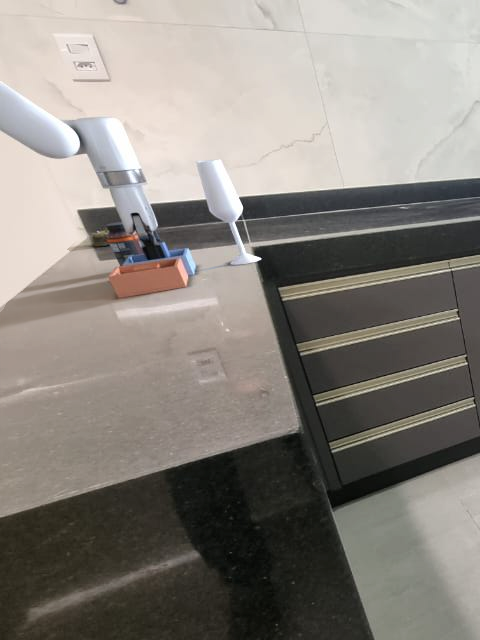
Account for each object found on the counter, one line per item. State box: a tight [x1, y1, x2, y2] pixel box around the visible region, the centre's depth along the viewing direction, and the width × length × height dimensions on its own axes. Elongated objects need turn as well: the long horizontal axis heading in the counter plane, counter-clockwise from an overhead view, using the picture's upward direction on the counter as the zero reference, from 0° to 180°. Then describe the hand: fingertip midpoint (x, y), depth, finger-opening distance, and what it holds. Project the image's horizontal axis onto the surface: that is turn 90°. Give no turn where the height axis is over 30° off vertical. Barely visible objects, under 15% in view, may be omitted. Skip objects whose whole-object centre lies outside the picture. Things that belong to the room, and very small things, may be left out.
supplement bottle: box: [105, 221, 143, 266], centre depth 128 cm, size 6×6×11 cm
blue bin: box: [123, 247, 196, 277], centre depth 124 cm, size 11×10×5 cm
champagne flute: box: [195, 159, 262, 266], centre depth 129 cm, size 7×7×24 cm
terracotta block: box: [133, 263, 161, 272], centre depth 114 cm, size 4×4×4 cm
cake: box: [91, 226, 110, 247], centre depth 161 cm, size 10×10×5 cm
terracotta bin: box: [107, 258, 189, 299], centre depth 115 cm, size 11×10×5 cm
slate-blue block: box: [141, 241, 171, 261], centre depth 122 cm, size 4×4×4 cm
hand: (159, 260), depth 123 cm, fingers closed on slate-blue block, 4 cm apart
